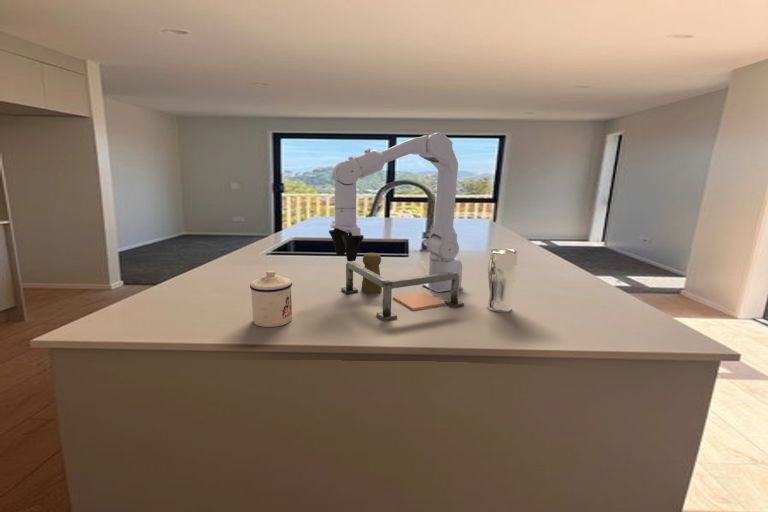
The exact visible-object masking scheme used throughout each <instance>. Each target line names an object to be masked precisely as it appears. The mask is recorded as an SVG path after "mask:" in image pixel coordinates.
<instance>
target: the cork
mask: <svg viewBox="0 0 768 512" xmlns="http://www.w3.org/2000/svg"><path fill="white" fill-rule="evenodd" d="M381 263H382V256H381V255H380V254H379V253H376V252H367V253H365V254H364V255H363V257H362V264H364V265H363V267H364V268H366V269H368V270H370V271H372V272H374V273H376V274H378V275H380V276H381V271H380V270H381V269H380V265H381ZM361 281H362V283H361V288H360V289H361V291H360V292H361V293H363V294H367V295H376V294H380V293H383V288H382V287H381V286H379V285H377V284H375V283H374V282H372V281H370V280H368V279H367V278H365V277H363V276H362V280H361Z"/></svg>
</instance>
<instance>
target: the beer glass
mask: <svg viewBox="0 0 768 512" xmlns="http://www.w3.org/2000/svg"><path fill="white" fill-rule="evenodd" d="M518 254H519V252H518V250H514V249H509V248H492V249H490V250H489V258H488V265H487V279H488V288H489V291H488V292H489V293H488V299H487V303H486V308H487V309H488V310H490V311H493V312H496V313H508V312H511V311H512V300H511V298H512V297H511V296H512V292H513V288H514V286H515V282H516V281H515V280H516V277H517V273H518V272H517V271H518Z"/></svg>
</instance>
